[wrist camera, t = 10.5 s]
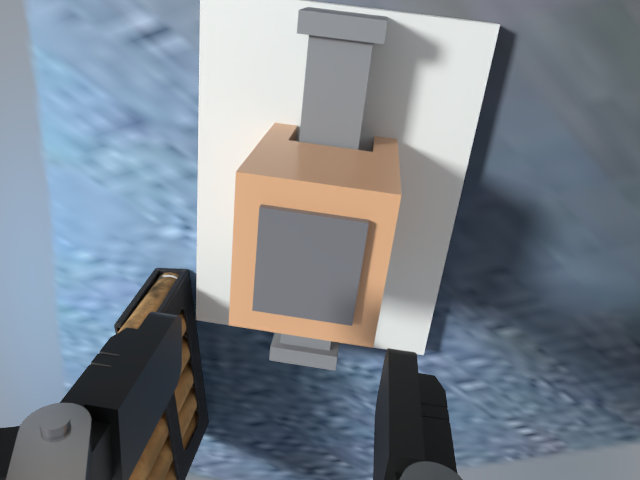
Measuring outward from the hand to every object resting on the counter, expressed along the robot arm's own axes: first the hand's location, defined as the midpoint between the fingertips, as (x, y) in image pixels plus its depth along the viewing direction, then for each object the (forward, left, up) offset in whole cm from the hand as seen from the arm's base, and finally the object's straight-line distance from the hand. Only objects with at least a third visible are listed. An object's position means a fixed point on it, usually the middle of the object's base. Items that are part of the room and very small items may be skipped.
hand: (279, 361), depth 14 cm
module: (0, 0, -12) cm, 12 cm away
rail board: (0, 0, -13) cm, 13 cm away
